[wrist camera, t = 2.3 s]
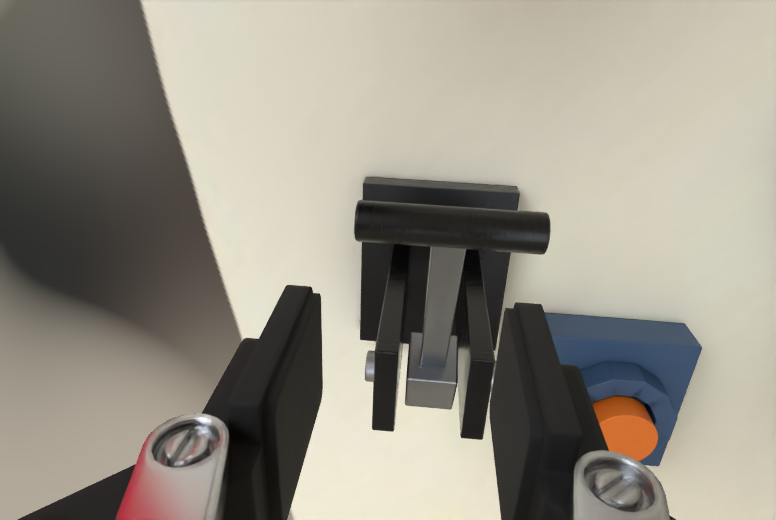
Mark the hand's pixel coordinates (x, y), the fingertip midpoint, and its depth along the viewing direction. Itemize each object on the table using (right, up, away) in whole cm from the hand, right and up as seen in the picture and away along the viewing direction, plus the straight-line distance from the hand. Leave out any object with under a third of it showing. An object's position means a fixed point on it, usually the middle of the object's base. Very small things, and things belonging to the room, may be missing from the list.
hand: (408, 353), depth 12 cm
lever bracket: (+2, +2, +23) cm, 23 cm away
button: (+14, -8, +22) cm, 27 cm away
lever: (+2, +1, +10) cm, 10 cm away
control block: (+14, -6, +26) cm, 30 cm away
